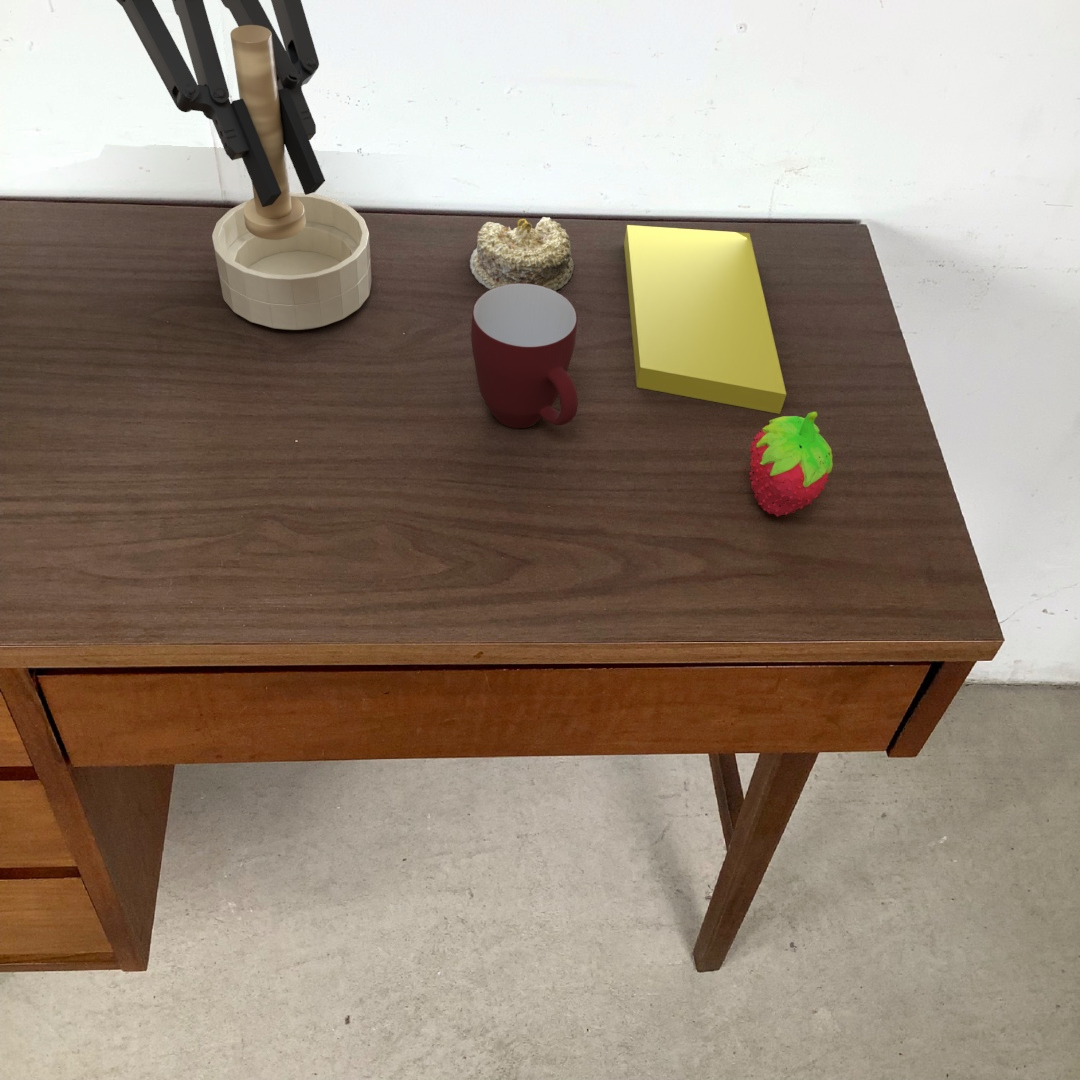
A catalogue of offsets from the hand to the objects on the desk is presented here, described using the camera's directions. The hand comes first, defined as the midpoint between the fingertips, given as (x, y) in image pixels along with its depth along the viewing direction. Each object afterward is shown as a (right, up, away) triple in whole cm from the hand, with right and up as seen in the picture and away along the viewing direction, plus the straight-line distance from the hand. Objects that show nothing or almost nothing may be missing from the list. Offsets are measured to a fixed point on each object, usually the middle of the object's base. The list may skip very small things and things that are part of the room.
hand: (293, 193), depth 74 cm
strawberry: (+36, -21, +9) cm, 43 cm away
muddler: (-3, 0, +5) cm, 6 cm away
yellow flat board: (+32, -4, +24) cm, 40 cm away
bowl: (-5, -1, +23) cm, 23 cm away
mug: (+16, -14, +14) cm, 26 cm away
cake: (+15, +2, +28) cm, 32 cm away
